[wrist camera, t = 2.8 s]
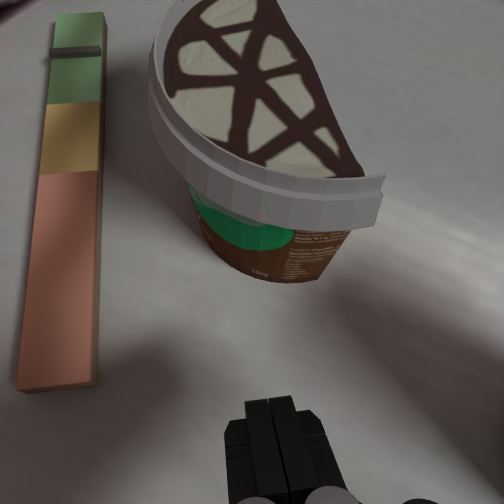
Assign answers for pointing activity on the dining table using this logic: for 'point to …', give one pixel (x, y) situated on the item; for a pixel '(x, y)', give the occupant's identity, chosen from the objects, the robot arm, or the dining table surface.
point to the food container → (255, 139)
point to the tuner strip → (68, 215)
